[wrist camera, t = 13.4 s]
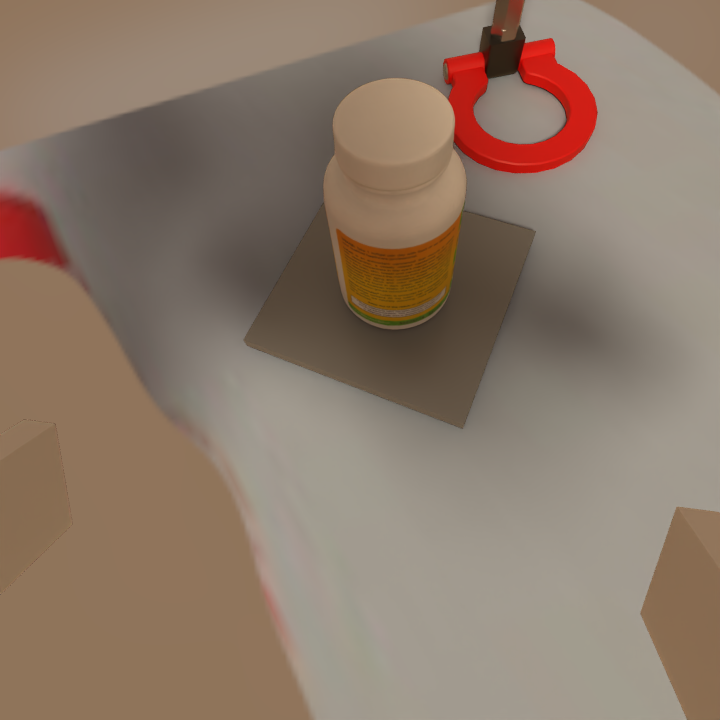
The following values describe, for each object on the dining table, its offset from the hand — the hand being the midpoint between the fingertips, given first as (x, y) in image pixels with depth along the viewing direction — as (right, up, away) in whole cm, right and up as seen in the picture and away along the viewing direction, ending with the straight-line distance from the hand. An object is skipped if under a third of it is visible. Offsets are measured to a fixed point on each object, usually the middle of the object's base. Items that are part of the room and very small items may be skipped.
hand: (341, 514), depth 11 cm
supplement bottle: (+2, +7, +14) cm, 16 cm away
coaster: (+2, +7, +15) cm, 16 cm away
